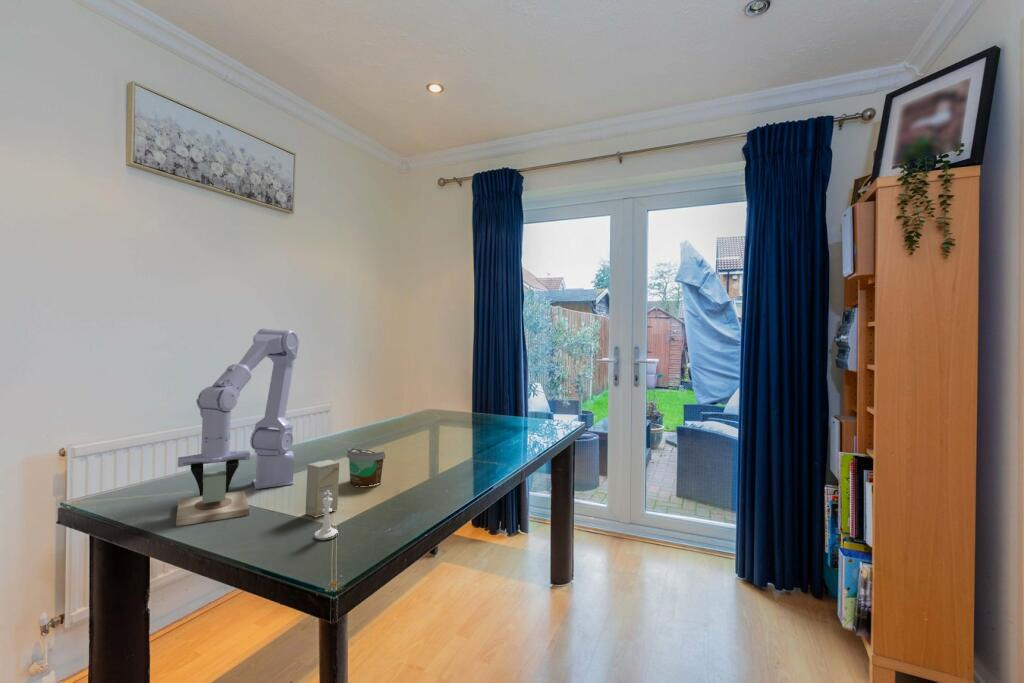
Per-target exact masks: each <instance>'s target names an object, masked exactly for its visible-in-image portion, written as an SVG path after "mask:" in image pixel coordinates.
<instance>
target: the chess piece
mask: <svg viewBox="0 0 1024 683" xmlns="http://www.w3.org/2000/svg"><path fill="white" fill-rule="evenodd" d="M324 495H326V498H324V499H323V503H324V507H325V508H324V509H323V510H322V512H323V513H325V515H323V517H324V518H323V521H322V522H323V523H322V527H321V528H320V529H318V530H316V531H315V533H314V535H315V537H317V538H328V537H331V536H334V535H335V534H336V533H338V534H339V530H338V529H336V528H335V527H332V526H331V517H330V514H331V513H329V512H332V508H330V506H331V503H332V500H333V499H332V498H329V496H332V493H330V490H327V493H324ZM332 513H333V512H332ZM314 535H313V536H314Z"/></svg>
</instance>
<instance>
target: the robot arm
mask: <svg viewBox="0 0 1024 683" xmlns="http://www.w3.org/2000/svg"><path fill="white" fill-rule="evenodd" d="M252 342H253V344H252V345H251V346H250V348H249V349H248V350H247V352H246V353H245V354H244V356H243V357H242V358H241V359H240V361H239V363H235V364H231V365H228V366H227V367H226V370H225V371H224V372H223V373H222V374H221V375H220V376H219V378H218V379H217V380H216V381H215V382H214V383H213V384H212V385H211V386H207V387H205V388H203V389H202V390H201V391H200V392H199V394H198V396H197V399H196V402H195V403H196V405H197V407H198V409H199V416H200V417H201V418H202V420H201V421H202V422H201V423H202V425H201V444H200V445H201V449H200V453H199V454H193V455H186V456H178V457H177V468H183V467H188V466H190V471H191V474H192V475H193V477H194V479H195V482H196V484H197V487H198V492H199V497H200V496H203V473H204V465H208V464H217V463H225V472H226V493H229V488H230V484H231V482H232V479H233V476H234V475H235V473H236V471H237V469H238V468H239V465H240V462H239V461H246V462H247V461H250V460H251V452H250V450H242V451H241V450H238V451H237V450H236V451H235V450H234V451H233V450H230V445H231V444H230V443H231V442H230V440H231V420H232V419H231V414H232V410H233V409H234V408H236V406H237V404H238V400H239V397H240V394H241V393H240V392H241V391H242V390H243V389H244V387H245V386H246V385H248V383H249V382H250V380H251V379H252V371H253V370H254V369H255V368H256V367H257V366H258V365H259V364H260V362H262V361H263V360H264V359H265V358H266V357H267V358H268V359H270V360H271V362H272V363H273V366H272V372H271V375H270V376H271V377H270V383H269V388H268V389H269V390H268V394H267V395H268V396H267V400H266V407H265V412H264V417H263V418H262V419H260V420H259V421H257V422H256V423H255V425H254V430H253V432H252V433H251V436H250V440H249V443H250V447H251V448H252V449H253V450H254V454H256V471H255V473H256V474H255V475H256V476H255V478H254V479H253V480H252V482H253V486H254V488H255V490H259V489H267V488H275V487H281V486H282V487H283V486H291V485H293V484H294V466H295V465H294V464H295V458H294V457H295V455H294V451H293V450H290V449H291V447H292V445H293V442H294V436H293V427H294V426H293V425H292V424H291V423H290V422H289V421H288V420H287V419H286V413H287V408H288V402H289V396H290V389H291V382H292V378H293V377H292V376H293V370H294V365H295V360H297V357H298V356H297V355H298V350H299V344H300V339H299V337H298V335H297V333H296V331H294V330H293V329H269V328H260V329H258V330H257V332H256V333H255V335H253V340H252ZM272 428H273V429H272Z"/></svg>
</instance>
